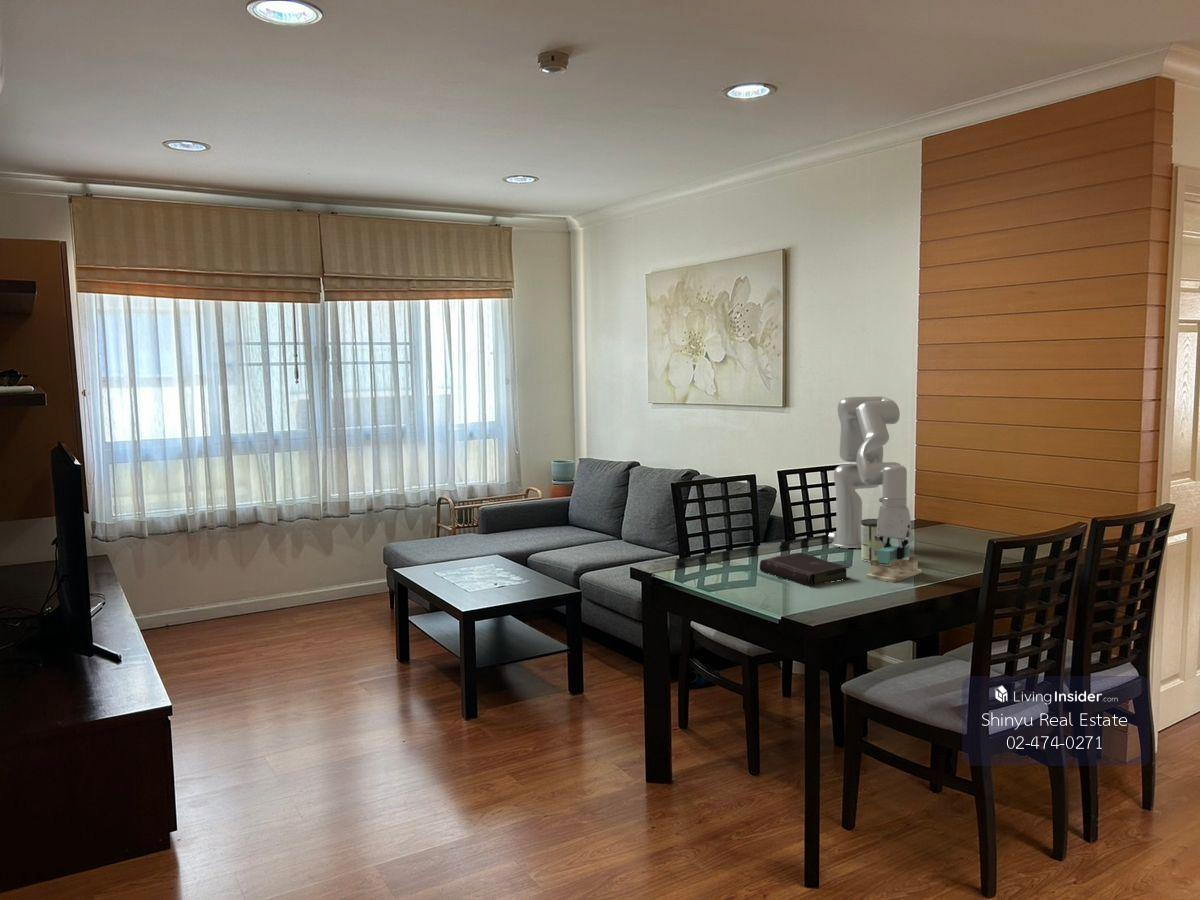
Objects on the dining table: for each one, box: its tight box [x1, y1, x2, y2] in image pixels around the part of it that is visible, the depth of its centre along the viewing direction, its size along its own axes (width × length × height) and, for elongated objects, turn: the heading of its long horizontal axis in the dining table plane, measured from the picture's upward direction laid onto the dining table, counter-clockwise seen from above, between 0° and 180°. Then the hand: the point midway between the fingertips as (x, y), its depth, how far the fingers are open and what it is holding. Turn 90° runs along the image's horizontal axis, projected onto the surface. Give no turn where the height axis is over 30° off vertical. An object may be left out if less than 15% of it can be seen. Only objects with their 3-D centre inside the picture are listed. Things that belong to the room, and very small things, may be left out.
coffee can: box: [860, 518, 892, 563], centre depth 306 cm, size 10×10×14 cm
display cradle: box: [865, 555, 923, 584], centre depth 284 cm, size 10×18×6 cm, turn 132°
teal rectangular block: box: [878, 543, 911, 565], centre depth 284 cm, size 4×14×4 cm, turn 132°
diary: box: [759, 552, 851, 587], centre depth 288 cm, size 19×25×5 cm
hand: (894, 557), depth 284 cm, fingers open, 3 cm apart
